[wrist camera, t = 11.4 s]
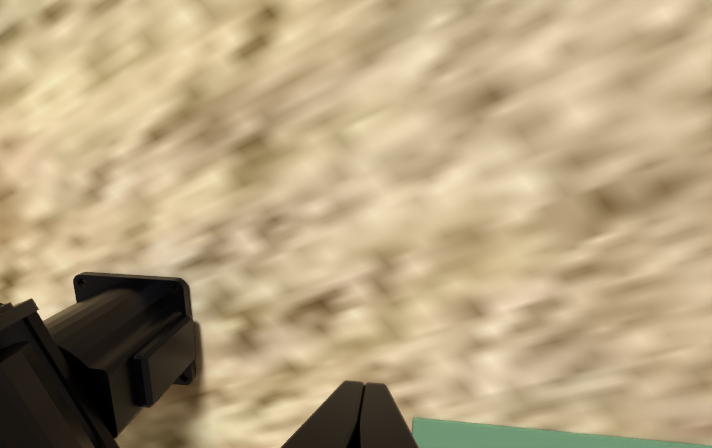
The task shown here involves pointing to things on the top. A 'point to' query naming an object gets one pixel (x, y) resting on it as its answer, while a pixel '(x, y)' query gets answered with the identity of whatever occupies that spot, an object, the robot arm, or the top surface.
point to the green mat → (519, 437)
